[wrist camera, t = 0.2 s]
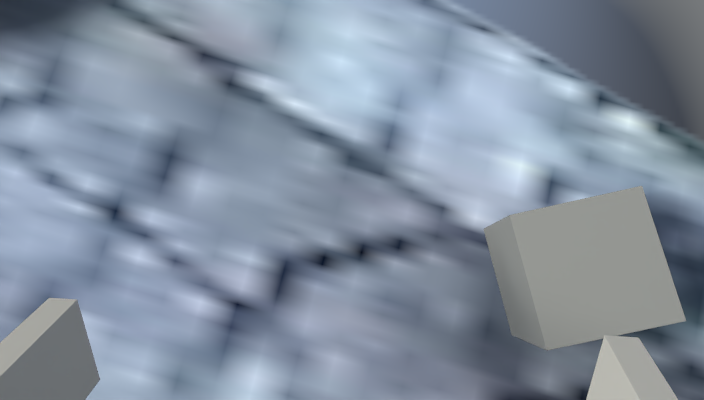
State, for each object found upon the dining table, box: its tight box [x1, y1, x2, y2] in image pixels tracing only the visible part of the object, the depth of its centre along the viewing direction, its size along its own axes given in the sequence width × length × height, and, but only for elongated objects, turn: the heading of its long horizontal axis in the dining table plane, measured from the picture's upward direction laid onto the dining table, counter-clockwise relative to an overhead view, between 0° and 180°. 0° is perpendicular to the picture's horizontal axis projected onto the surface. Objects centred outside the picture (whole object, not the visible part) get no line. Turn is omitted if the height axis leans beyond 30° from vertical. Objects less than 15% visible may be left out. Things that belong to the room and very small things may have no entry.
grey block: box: [484, 186, 686, 350], centre depth 24 cm, size 6×6×6 cm
